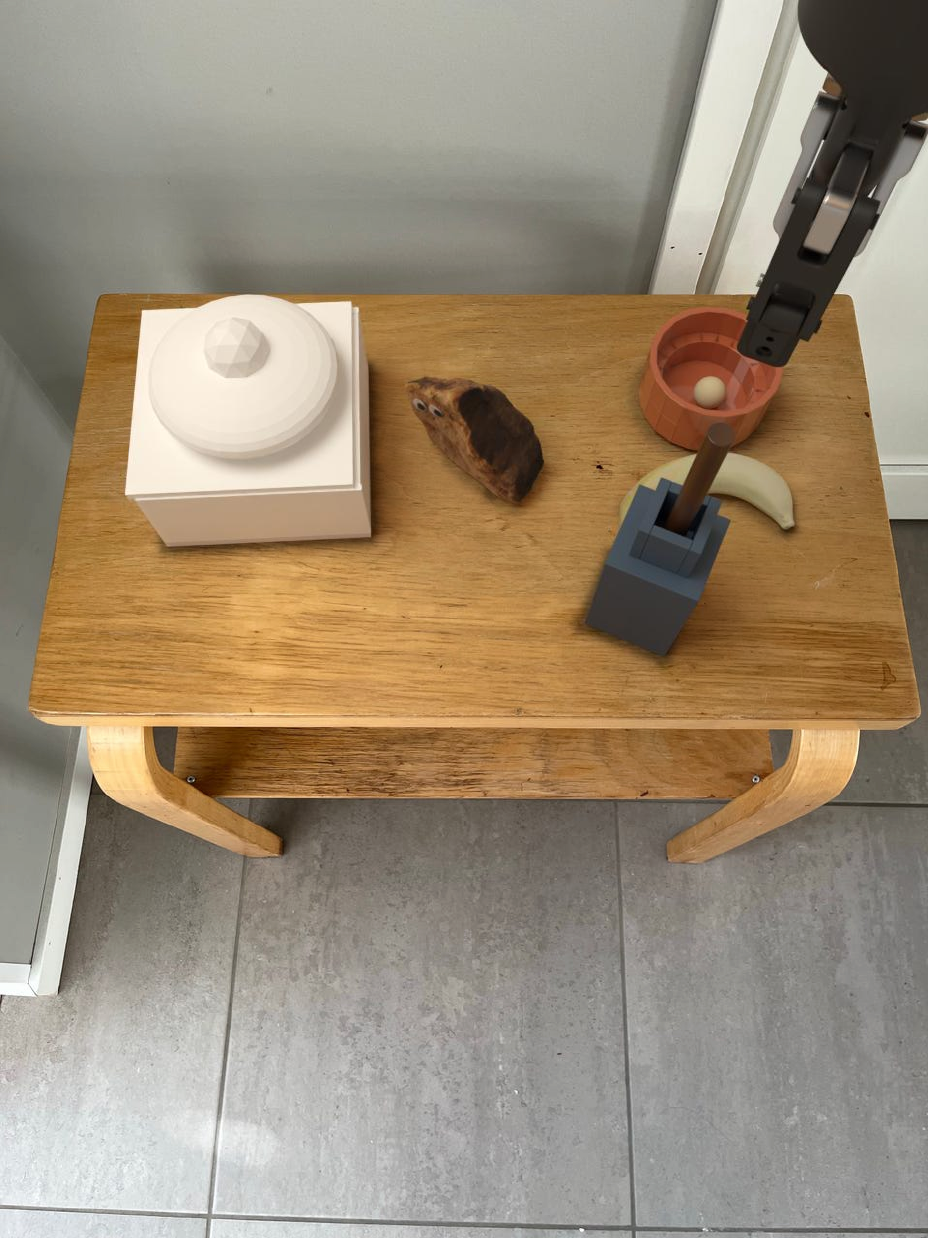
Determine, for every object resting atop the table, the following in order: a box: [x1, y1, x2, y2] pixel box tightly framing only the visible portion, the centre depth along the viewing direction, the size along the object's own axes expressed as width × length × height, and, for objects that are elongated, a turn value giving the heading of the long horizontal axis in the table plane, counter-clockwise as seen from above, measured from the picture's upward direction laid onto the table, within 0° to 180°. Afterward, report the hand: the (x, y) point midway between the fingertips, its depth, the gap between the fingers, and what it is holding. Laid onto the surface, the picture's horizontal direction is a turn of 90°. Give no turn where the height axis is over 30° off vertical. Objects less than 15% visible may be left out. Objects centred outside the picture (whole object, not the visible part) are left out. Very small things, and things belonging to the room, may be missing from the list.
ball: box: [694, 376, 726, 409], centre depth 81 cm, size 3×3×3 cm
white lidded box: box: [124, 294, 372, 548], centre depth 74 cm, size 18×18×16 cm
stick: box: [663, 422, 735, 537], centre depth 58 cm, size 2×2×14 cm
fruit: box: [618, 452, 796, 531], centre depth 78 cm, size 7×15×3 cm, turn 95°
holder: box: [583, 477, 731, 657], centre depth 68 cm, size 7×7×16 cm
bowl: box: [638, 306, 784, 451], centre depth 80 cm, size 11×11×6 cm
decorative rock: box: [404, 375, 545, 505], centre depth 76 cm, size 12×6×11 cm, turn 52°
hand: (790, 282), depth 40 cm, fingers open, 8 cm apart
